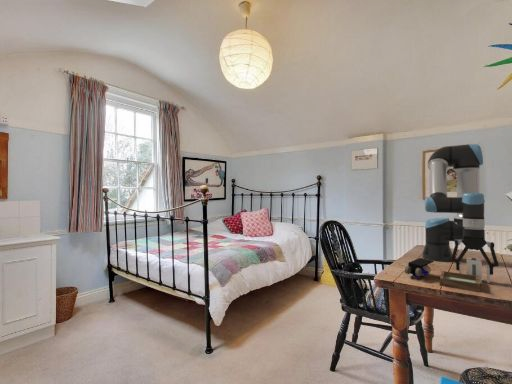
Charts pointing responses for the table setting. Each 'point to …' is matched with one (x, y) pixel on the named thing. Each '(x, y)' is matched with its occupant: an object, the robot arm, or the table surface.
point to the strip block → (474, 267)
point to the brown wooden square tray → (460, 281)
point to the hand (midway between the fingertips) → (474, 279)
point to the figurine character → (418, 268)
